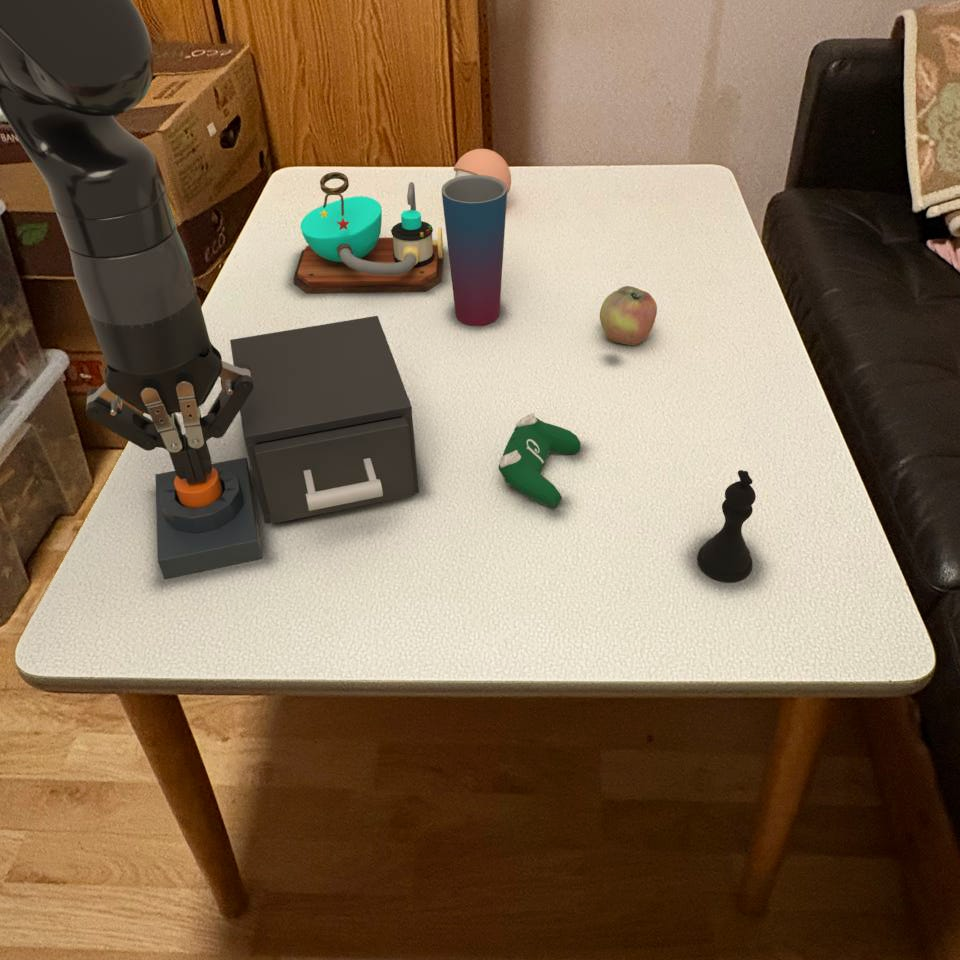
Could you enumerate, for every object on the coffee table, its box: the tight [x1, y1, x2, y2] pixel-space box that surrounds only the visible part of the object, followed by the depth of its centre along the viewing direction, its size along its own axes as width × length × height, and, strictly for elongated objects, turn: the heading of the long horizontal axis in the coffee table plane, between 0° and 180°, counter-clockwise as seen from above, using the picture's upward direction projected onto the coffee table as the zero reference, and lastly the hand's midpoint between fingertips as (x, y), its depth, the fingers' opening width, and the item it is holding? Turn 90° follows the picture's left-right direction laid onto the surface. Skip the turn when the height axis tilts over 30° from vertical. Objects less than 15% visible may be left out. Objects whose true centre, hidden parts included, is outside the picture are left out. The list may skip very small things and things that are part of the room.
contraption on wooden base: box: [293, 171, 445, 294], centre depth 106 cm, size 14×18×15 cm
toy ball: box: [453, 148, 512, 195], centre depth 122 cm, size 8×8×8 cm
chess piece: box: [696, 469, 757, 583], centre depth 71 cm, size 4×4×10 cm
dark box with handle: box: [254, 417, 416, 524], centre depth 80 cm, size 18×12×8 cm
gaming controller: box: [498, 412, 581, 508], centre depth 82 cm, size 9×4×6 cm
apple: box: [599, 285, 658, 346], centre depth 97 cm, size 6×8×6 cm
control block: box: [155, 457, 263, 580], centre depth 78 cm, size 11×8×4 cm
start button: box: [174, 467, 222, 508], centre depth 76 cm, size 4×4×2 cm
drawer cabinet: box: [229, 315, 420, 524], centre depth 83 cm, size 15×14×10 cm
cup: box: [441, 175, 508, 327], centre depth 99 cm, size 7×7×15 cm
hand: (197, 476), depth 75 cm, fingers closed
